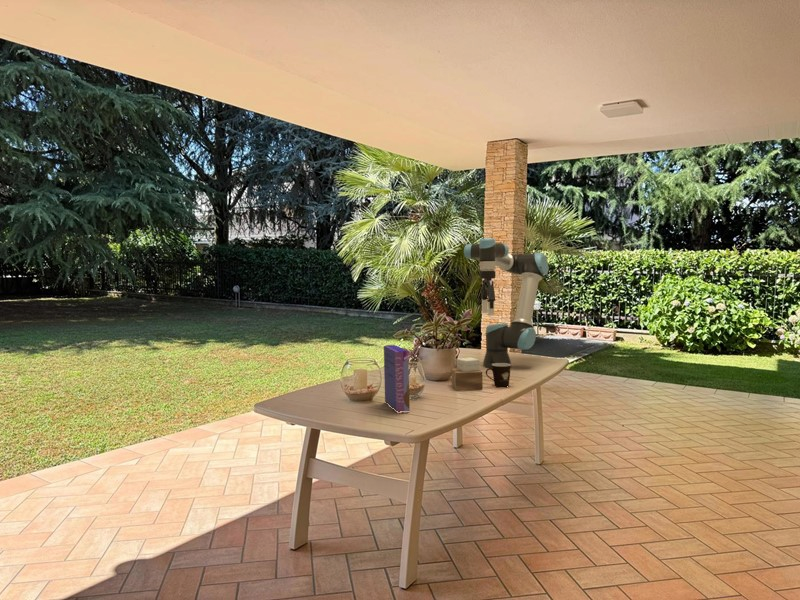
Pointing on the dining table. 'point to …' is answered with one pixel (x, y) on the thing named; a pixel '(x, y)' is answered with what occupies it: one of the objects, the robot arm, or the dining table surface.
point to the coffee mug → (500, 374)
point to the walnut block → (467, 380)
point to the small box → (467, 364)
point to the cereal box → (396, 377)
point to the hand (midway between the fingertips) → (488, 314)
